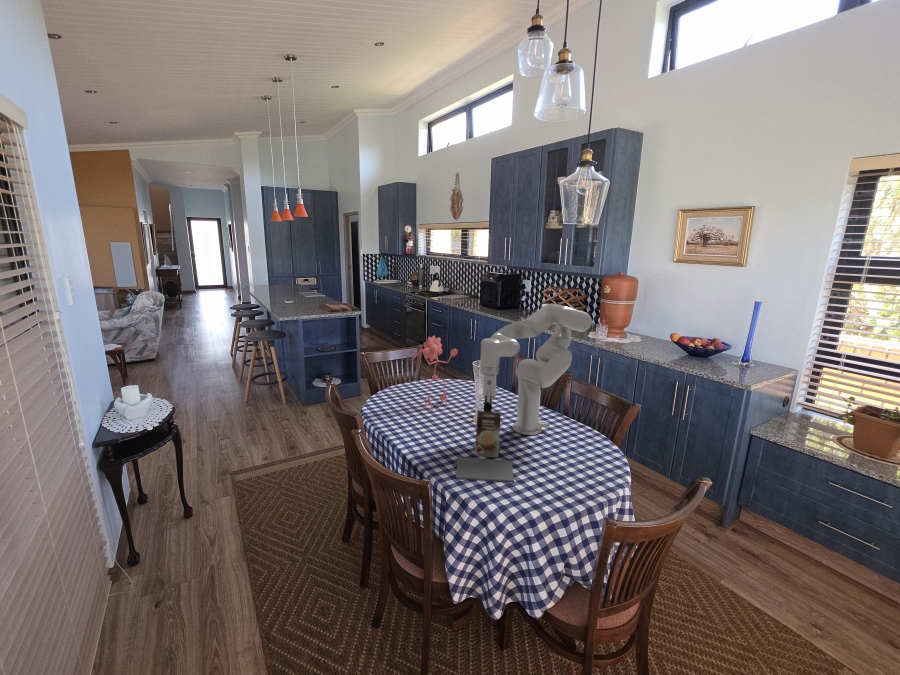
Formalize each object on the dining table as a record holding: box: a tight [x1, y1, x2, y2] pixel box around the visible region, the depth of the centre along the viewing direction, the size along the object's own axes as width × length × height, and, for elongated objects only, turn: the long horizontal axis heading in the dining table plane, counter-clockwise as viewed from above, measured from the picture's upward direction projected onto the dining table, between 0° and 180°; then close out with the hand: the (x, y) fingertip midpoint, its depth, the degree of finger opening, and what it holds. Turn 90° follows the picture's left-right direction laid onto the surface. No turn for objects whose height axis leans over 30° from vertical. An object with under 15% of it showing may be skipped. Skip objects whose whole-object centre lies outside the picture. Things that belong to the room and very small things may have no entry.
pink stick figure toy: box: [410, 335, 459, 411], centre depth 217 cm, size 15×26×35 cm, turn 131°
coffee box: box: [474, 410, 502, 458], centre depth 169 cm, size 9×6×16 cm
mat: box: [455, 457, 515, 483], centre depth 158 cm, size 20×14×1 cm
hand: (487, 412), depth 180 cm, fingers closed
